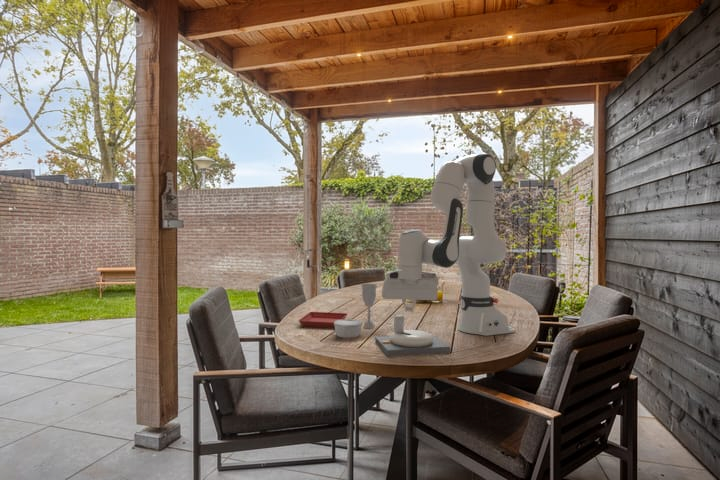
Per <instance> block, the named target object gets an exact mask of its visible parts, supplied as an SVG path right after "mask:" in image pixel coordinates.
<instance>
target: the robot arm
mask: <svg viewBox="0 0 720 480" xmlns="http://www.w3.org/2000/svg"><path fill="white" fill-rule="evenodd" d="M496 169H497V164H496V161H495V158H494V157H493V156H492V155H491V154H489V153H483V152H482V153H478V154H476V153H475V154H468V155H465V156H462V157H458V158H454V159H452V160H449V161H446V162H444V163H443V164H442V165H441V167H440V169H439V170H438V172H437V175H436V177H435V180H434V181H433V185H432V189H431V192H430V201H431V203H432V205H433V206H434V207H435V208H436V209H437V210H438V211H441V212H443V213H444V214H445V222H444V229H443V233H442V237H441V238H440V239H435V238H430V237H428V236H426V235H424V234H423V233H422V230H420V229H418V228H417V229H406V230H404V231H402V232H401V233H400V235H399V239H398V250H397V251H398V252H397V253H398V263H397V268H396V269H391V270H388V271H386V272H385V279H383V282H382V288H381V289H382V290H381V297H382V298H383V299H386V300H387V299H389V300H401V303H402V305H403V306H404V312H406V313H407V312H408V313H414V307H415V306H416V304H417V301H419V300H420V301H436V300H437V299H438V288H437V287H438V286H439V277H438V276H437V275H435V274H434V273H433V274H425V273H423V265H429V266H438V267H441V268H445V269H446V268H451V267H452V266H453V265H455V263H456V264H457V268H458V269H459V272H460V275H461V276H460V277H461V295H460V319H459V322H458V327H457V330H458V331H460V332H462V333H467V334H472V335H480V336H496V335H502V334H503V335H504V334H510V333H515V329H514V327H512V326H510V325H509V319H508V317H507V315H506V314H505V313H504V312H502V311H501V310H500V309H499V308H497V307H496V306H495V304H499V301H500V300H499V298H497V297H492V296H491V290H490V289H491V279H490V277H489V275H488V274H487V273H485V272H484V270H483V269H482V267H481V264H487V265H488V264H495V263H496V264H497V263H501V262H502V261H503V260H504V259H505V258H506V255H507V251H508V250H507V245H506V243H505V241H504V240H503V239H502V238H501V237H500V236H499V234H498V233H497V231H496V228H495V221H494V220H495V219H494V215H495V202H496V201H495V200H496V199H495V198H496V192H495V182H494V177H495V174H496ZM465 184H467V187H468V193H467V199H466V208H465V209H466V210H465V221H466V224H468V225H469V226H470V227H472V230H473V235H461V230H462V222H463V215H464V207H463V203H462V201H461V195H462V191H463V187H464V185H465ZM407 300H411V302H412V304H411V305H409V306H407V304H406V303H407ZM494 303H495V304H494Z"/></svg>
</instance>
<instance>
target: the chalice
mask: <svg viewBox="0 0 720 480" xmlns="http://www.w3.org/2000/svg"><path fill="white" fill-rule="evenodd" d="M360 286H361V288H362V289H361V296H362V301H363V302H364V304H365V307H367V315H366V316H367V321H365V322H364V324H363V325H362V326H363V327H364V329H375V328H376V327H375V323H374V322H373V321H372V320H371V317H372V315H371V312H372V310H371V307H373V305H374V302H375V301H376V298H377V297H376V296H377V287H378V284H377V283H362V284H361V285H360ZM363 327H362V328H363Z"/></svg>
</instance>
